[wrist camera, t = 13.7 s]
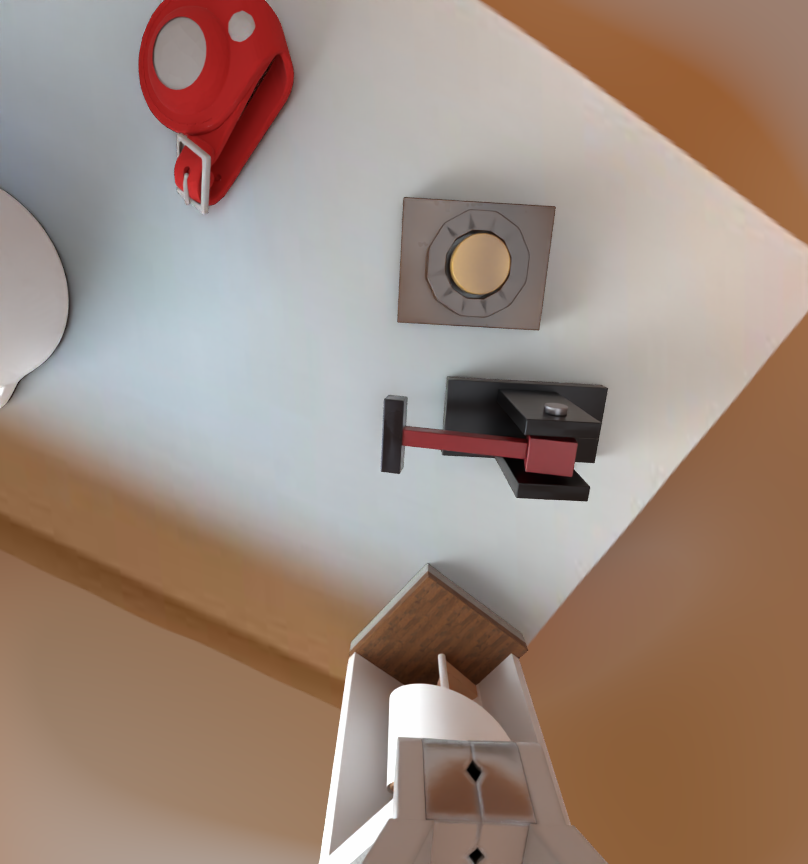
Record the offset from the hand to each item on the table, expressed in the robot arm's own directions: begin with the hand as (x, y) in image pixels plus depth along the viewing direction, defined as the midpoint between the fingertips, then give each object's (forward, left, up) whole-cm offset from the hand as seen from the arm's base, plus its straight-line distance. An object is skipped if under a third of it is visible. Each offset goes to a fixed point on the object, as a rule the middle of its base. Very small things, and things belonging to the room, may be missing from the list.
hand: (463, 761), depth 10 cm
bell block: (+3, +11, -29) cm, 31 cm away
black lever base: (+8, 0, -29) cm, 30 cm away
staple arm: (+4, 0, -23) cm, 24 cm away
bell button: (+3, +11, -25) cm, 28 cm away
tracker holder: (-15, +20, -29) cm, 39 cm away
